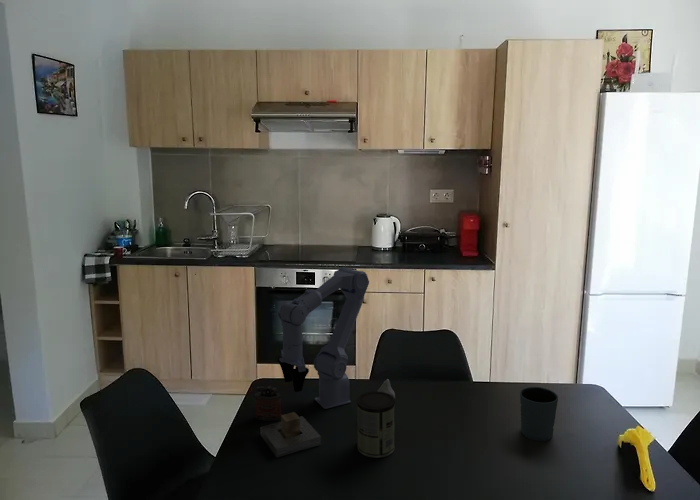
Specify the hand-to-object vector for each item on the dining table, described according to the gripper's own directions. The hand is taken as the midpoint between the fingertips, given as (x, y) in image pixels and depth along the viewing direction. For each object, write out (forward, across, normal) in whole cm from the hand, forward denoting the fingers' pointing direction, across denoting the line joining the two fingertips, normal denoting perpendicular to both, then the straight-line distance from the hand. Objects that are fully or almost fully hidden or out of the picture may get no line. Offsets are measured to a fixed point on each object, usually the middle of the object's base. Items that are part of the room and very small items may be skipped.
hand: (293, 386), depth 158 cm
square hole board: (+10, +11, -6) cm, 16 cm away
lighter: (+11, -4, -7) cm, 13 cm away
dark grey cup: (+10, +42, +58) cm, 72 cm away
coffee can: (+11, +26, +14) cm, 31 cm away
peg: (+11, +11, -5) cm, 16 cm away
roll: (+10, +12, +26) cm, 30 cm away
